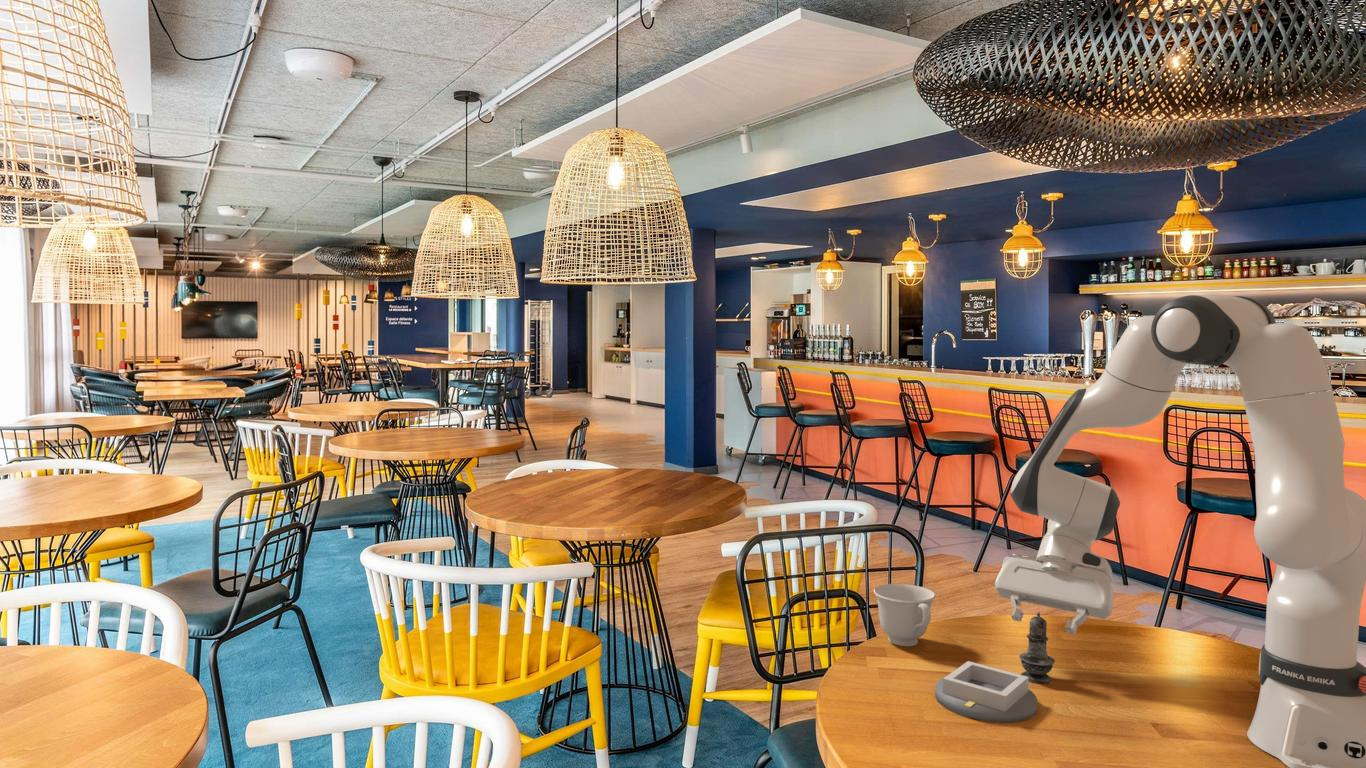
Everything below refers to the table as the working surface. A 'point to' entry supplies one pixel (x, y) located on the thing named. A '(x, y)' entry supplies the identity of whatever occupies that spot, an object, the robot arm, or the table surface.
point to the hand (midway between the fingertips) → (1042, 625)
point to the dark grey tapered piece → (1037, 653)
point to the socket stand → (987, 694)
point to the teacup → (904, 612)
